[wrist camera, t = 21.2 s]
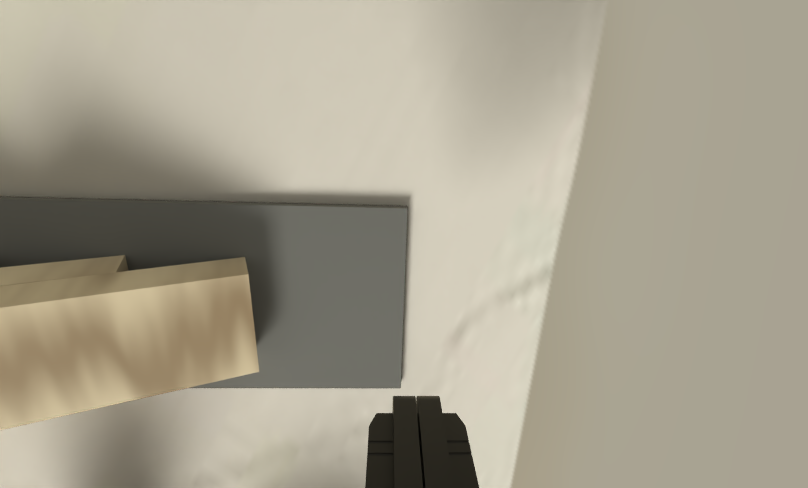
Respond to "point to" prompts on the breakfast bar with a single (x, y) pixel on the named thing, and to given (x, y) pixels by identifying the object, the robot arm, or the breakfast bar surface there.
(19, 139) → the breakfast bar surface
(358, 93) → the breakfast bar surface
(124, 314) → the tile
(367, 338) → the mat
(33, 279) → the light wooden block
